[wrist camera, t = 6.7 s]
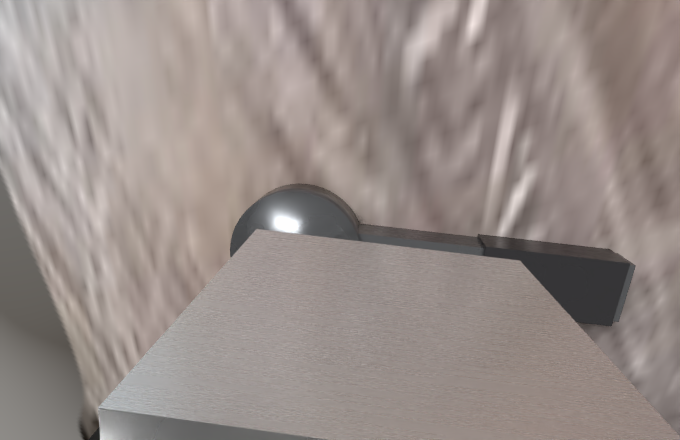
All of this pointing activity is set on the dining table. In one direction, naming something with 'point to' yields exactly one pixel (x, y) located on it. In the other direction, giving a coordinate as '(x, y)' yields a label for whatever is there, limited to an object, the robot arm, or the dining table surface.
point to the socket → (374, 354)
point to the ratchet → (454, 249)
